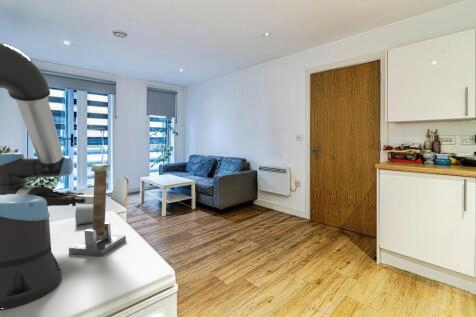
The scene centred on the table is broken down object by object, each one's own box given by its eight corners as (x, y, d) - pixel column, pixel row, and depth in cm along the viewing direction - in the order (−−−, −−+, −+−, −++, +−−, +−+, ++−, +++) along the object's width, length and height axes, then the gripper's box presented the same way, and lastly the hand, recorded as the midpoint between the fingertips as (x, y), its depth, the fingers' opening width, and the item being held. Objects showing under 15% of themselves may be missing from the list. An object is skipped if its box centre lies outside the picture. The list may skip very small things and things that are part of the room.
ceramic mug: (97, 223, 107) (96, 206, 107) (75, 227, 104) (74, 209, 103) (98, 217, 117) (97, 201, 116) (78, 220, 113) (77, 203, 112)
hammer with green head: (97, 243, 81) (100, 166, 78) (87, 242, 82) (90, 164, 79) (108, 237, 86) (111, 164, 83) (98, 236, 87) (101, 163, 84)
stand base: (102, 256, 77) (100, 234, 76) (69, 253, 79) (67, 232, 79) (125, 240, 89) (124, 221, 88) (96, 238, 91) (95, 219, 90)
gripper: (53, 202, 94) (108, 205, 90) (17, 213, 81) (80, 217, 77) (51, 183, 93) (107, 185, 89) (15, 191, 80) (79, 193, 77)
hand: (95, 200), depth 83 cm, fingers closed
